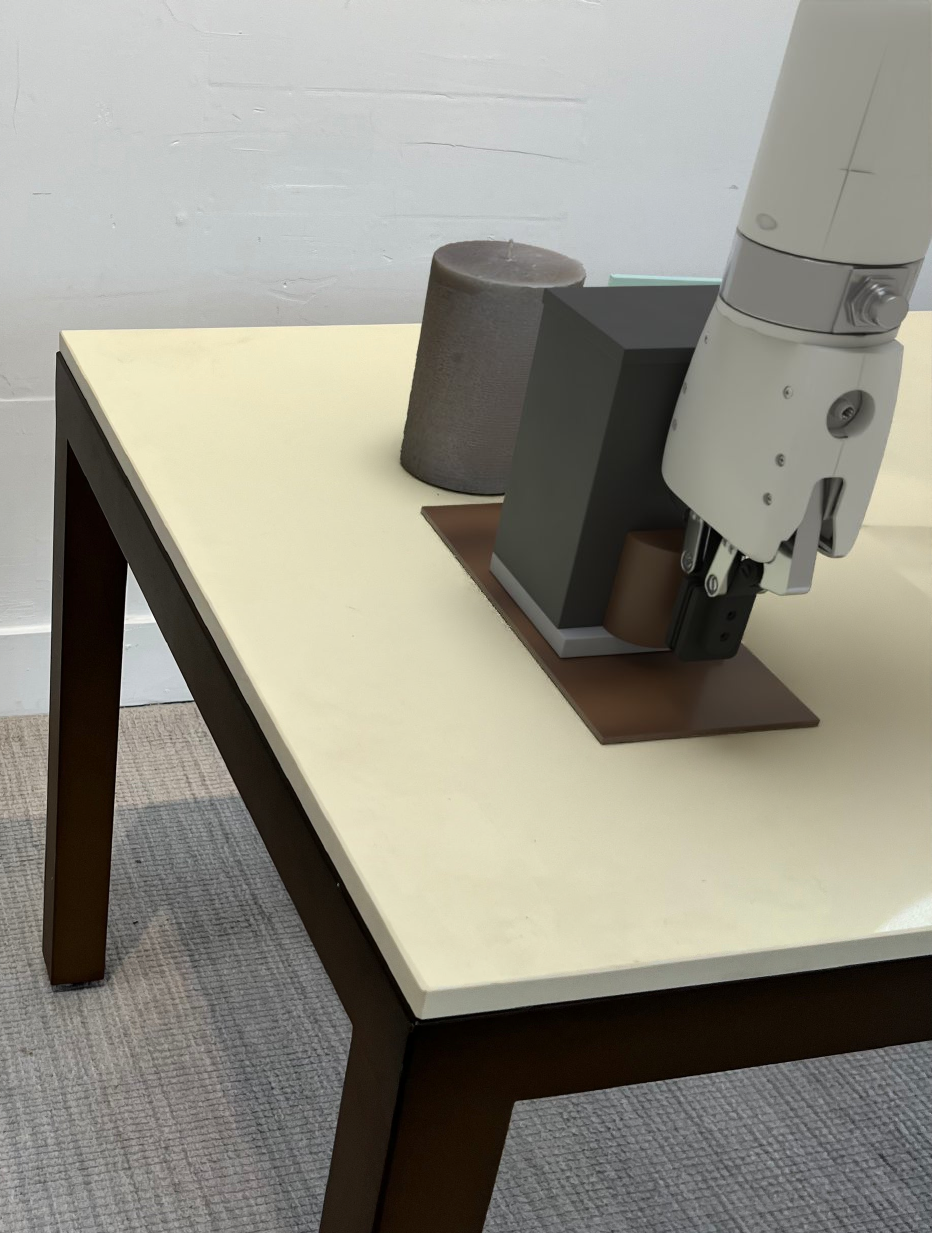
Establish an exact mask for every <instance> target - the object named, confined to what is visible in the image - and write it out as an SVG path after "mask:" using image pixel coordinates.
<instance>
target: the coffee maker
mask: <svg viewBox="0 0 932 1233" xmlns="http://www.w3.org/2000/svg"><path fill="white" fill-rule="evenodd" d="M719 289H720V285H677V286H613V287H607V286H583V287H549V288H544V293H543V298H542V303H543V304H544V307H543V312H542V317H541V321H540V326H539V331H538V336H537V341H536V346H535V351H534V355H533V360H532V365H531V370H530V375H529V380H528V385H527V389H526V394H525V399H524V404H523V409H522V414H521V419H520V423H519V428H518V433H517V438H516V443H515V448H514V453H513V457H512V462H511V467H510V472H509V477H508V482H507V487H506V491H505V493H504V497H503V502H502V503H503V506H502V511H501V516H500V521H499V525H498V530H497V535H496V540H495V545H494V550H493V551H494V552H493V554H492V559H491V564H490V571H491V572H492V574H493V575H494V576H495V577H496V578H497V580H498V581H499V582H500V583H501V585H502V586H503V587H504V588H505V590H506V591H507V592H508V593H509V595H510V596H511V597H512V598H513V600H514V601H515V602H516V603H517V605H518V606H519V607H520V608H521V609H522V611H523V612H524V613H525V614H526V616H527V617H528V618H529V619H530V621H531V622H532V623H533V624H534V626H535V627H536V628H537V629H538V631H539V632H540V633H541V634H542V636H543V637H544V638H545V639H546V640H547V642H548V643H549V644H550V645H551V647H552V648H553V649H554V650H555V652H556V653H557V654H558V655H559V657H560V658H568V657H582V656H596V655H611V654H625V653H639V652H654V651H668V650H670V649H669V648H668V647H667V646H666V645H665V643H664V640H665V637H666V633H667V630H668V626H669V623H670V620H671V616H672V613H673V610H674V606H675V603H676V600H677V596H678V593H679V590H680V586H681V583H682V579H683V576H689V574H686V573H684V572H683V570H682V568H681V563H680V560H681V554H682V549H683V543H684V538H685V527H684V523H683V517H682V516H681V514H680V513H679V511H678V510H677V508H676V507H675V505H674V503H673V502H672V500H671V498H670V490H671V489H670V488H669V486H668V485H667V484H666V482H665V480H664V478H663V475H662V462H663V455H664V450H665V445H666V441H667V436H668V432H669V428H670V425H671V421H672V418H673V414H674V411H675V407H676V404H677V401H678V398H679V395H680V392H681V389H682V386H683V383H684V380H685V377H686V374H687V371H688V368H689V366H690V363H691V360H692V357H693V354H694V352H695V349H696V347H697V344H698V341H699V339H700V336H701V334H702V331H703V329H704V327H705V324H706V322H707V320H708V317H709V315H710V313H711V311H712V308H713V306H714V304H715V302H716V300H717V296H718V293H719ZM746 558H747V556H745V559H746Z"/></svg>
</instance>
